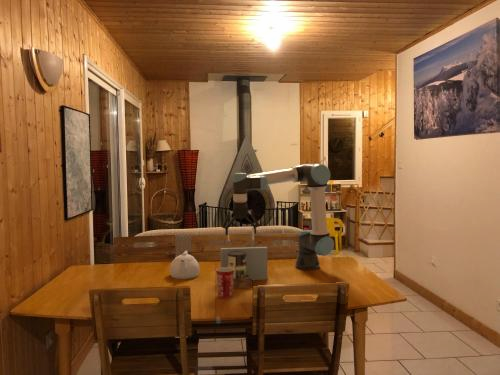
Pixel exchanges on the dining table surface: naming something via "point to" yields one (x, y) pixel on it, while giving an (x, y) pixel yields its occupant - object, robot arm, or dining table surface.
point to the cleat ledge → (242, 282)
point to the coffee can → (237, 263)
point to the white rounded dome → (184, 267)
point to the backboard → (250, 261)
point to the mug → (225, 282)
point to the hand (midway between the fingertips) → (240, 240)
